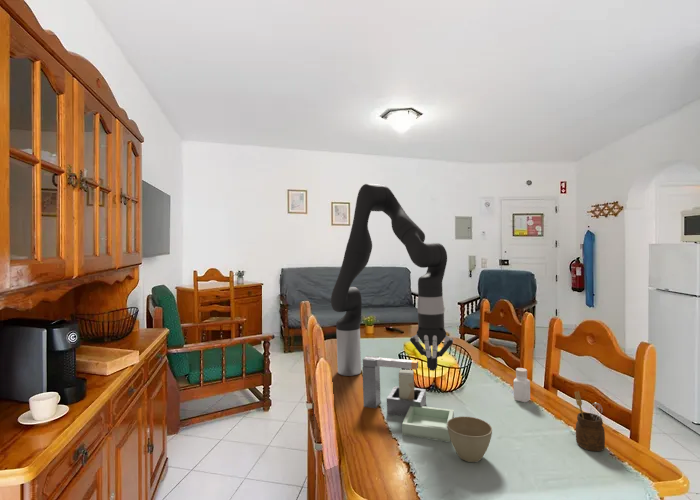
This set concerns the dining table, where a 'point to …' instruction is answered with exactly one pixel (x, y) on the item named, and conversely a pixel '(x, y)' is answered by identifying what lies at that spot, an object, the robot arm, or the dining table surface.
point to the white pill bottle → (521, 385)
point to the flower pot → (469, 437)
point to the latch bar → (395, 363)
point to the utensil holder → (589, 429)
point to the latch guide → (371, 383)
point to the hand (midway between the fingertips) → (432, 369)
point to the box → (406, 384)
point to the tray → (427, 423)
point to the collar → (404, 401)
